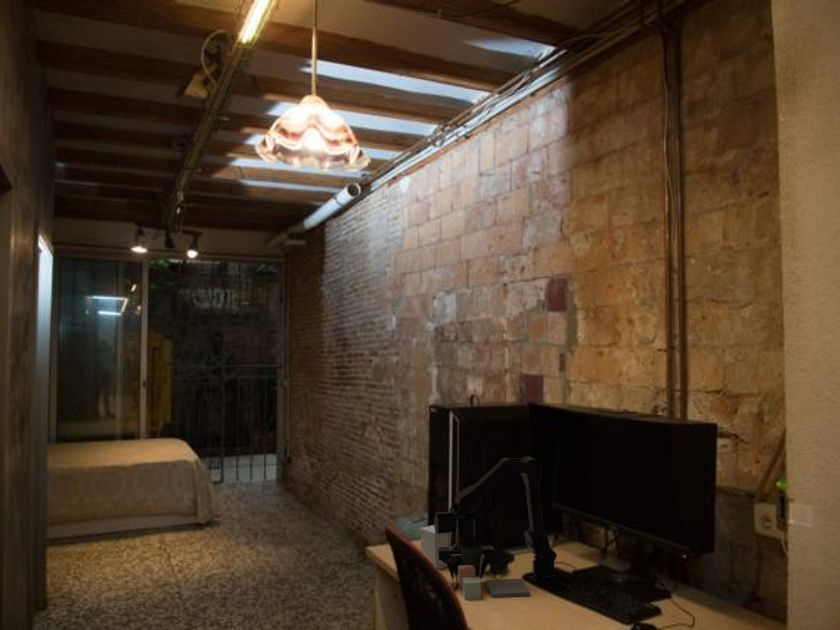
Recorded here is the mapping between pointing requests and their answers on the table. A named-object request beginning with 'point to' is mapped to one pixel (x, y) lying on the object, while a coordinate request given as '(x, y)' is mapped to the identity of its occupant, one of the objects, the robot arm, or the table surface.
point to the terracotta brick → (465, 572)
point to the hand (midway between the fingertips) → (466, 579)
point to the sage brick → (471, 588)
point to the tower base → (507, 588)
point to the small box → (433, 544)
